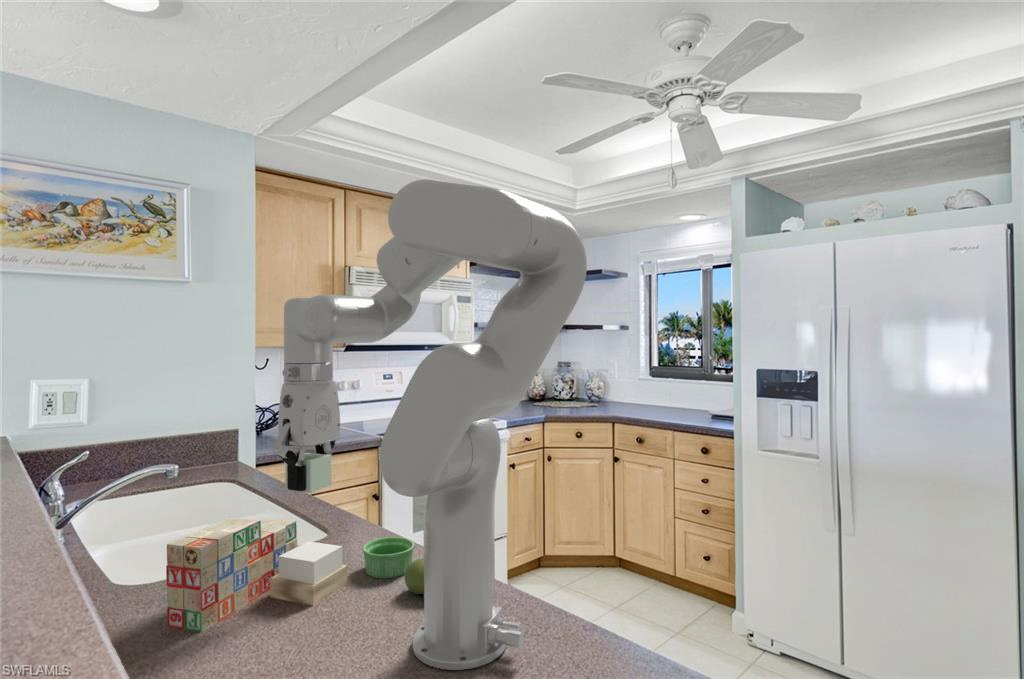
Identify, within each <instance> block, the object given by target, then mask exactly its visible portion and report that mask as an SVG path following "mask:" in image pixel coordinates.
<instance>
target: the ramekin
mask: <svg viewBox="0 0 1024 679" xmlns="http://www.w3.org/2000/svg"><path fill="white" fill-rule="evenodd" d="M414 547H415V543H414V541H413V540H412V539H409V538H405V537H401V536H387V537H386V536H385V537H381V538H376V539H373V540H371V541H368V542H366V543H365V544H364V545H363V547H362V552H363V555H364V556H363V557H364V566H365V567H364V568H365V573H366V575H369V576H370V577H373V578H376V579H393V578H397V577H401V576H403V575H405V573H406V570H407V568H408V566H409V565H410V564H411V563H412V562H413V555H414V554H413V552H414V549H415V548H414Z"/></svg>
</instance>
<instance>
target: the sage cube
mask: <svg viewBox="0 0 1024 679" xmlns="http://www.w3.org/2000/svg"><path fill="white" fill-rule="evenodd" d="M303 465H306V490H304V491H297V492H299V493H300V492H301V493H307V494H312V493H315V492H318V491H320V490H322V489H325V488H328V487H331V486H332V456H331V455H326V454H315V453H314V452H313V453H311V452H305V456H304V461H303ZM284 467H285V469H284V470H285V471H284V472H285V473H284V474H285V478H284V479H285V484H284V486H285V487H284V488H285V491H291V492H296V491H295V490H289V489H288V487H287V465H285V464H284Z"/></svg>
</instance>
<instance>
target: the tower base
mask: <svg viewBox="0 0 1024 679" xmlns="http://www.w3.org/2000/svg"><path fill="white" fill-rule="evenodd" d="M348 569H349V568H348V564H343V567H342V568H340V569H339V570H337V571H335V572H334V573H332V574H331V575H329V576H327V577H326V578H324V579H322V580H321V581H319V582H317V583H316V584H309V583H304V582H298V581H293V580H287V579H281V578H279V574H277V575H275V576H273V577H272V578H270V589H269V591H270V593H269V594H270V598H271V599H277V600H281V601H288V602H292V603H298V604H303V605H307V606H311V607H313V606H315V605H317V604H319V603H320V602H322V601H323V600H325V599H326V598H327V597H329V596H331V595H332V594H334V593H335V592H337V591H338V590H340V589H341V588H343V587H344V586H347V585H348V584H349V583H348V582H349V580H348V575H349V574H348V573H349V572H348Z"/></svg>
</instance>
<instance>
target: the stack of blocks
mask: <svg viewBox="0 0 1024 679" xmlns="http://www.w3.org/2000/svg"><path fill="white" fill-rule="evenodd" d="M297 533H298V532H297V521H296V520H290V519H276V518H265V519H263V520H261V519H254V518H253V519H252V518H240V517H239V518H237V517H228V518H225V519H223V520H220V521H218V522H216V523H214V524H211V525H209V526H206V527H204V528H202V529H200V530H197V531H194V532H193V533H190V534H188V535H186V536H183V537H180V538H178V539H176V540H173V541H171V542H168V543H167V544H166V563H167V564H166V566H165V567H166V568H165V569H166V578H165V580H166V593H167V597H166V598H167V600H166V601H167V606H166V608H167V610H166V612H167V614H166V616H167V627H169V628H173V629H174V628H175V629H181V630H187V631H194V632H198V633H202V632H205V631H206V630H208V629H209V628H211V627H213V626H214V625H215V624H217V623H219V622H222V620H224V619H226V618H227V617H229V616H230V615H232V614H234V613H236V612H237V611H238V610H241V609H242V608H244V607H245V606H247V605H248V604H249V603H251V602H252V601H253V600H255V599H257V598H259V597H260V596H261V595H263V594H264V593H266V592H268V591H270V578H272V577H273V576H275V575H277V574H279V556H280V555H282V554H284V553H286V552H288V551H290V550H292V549H294V548H296V547H298V536H297Z"/></svg>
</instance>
